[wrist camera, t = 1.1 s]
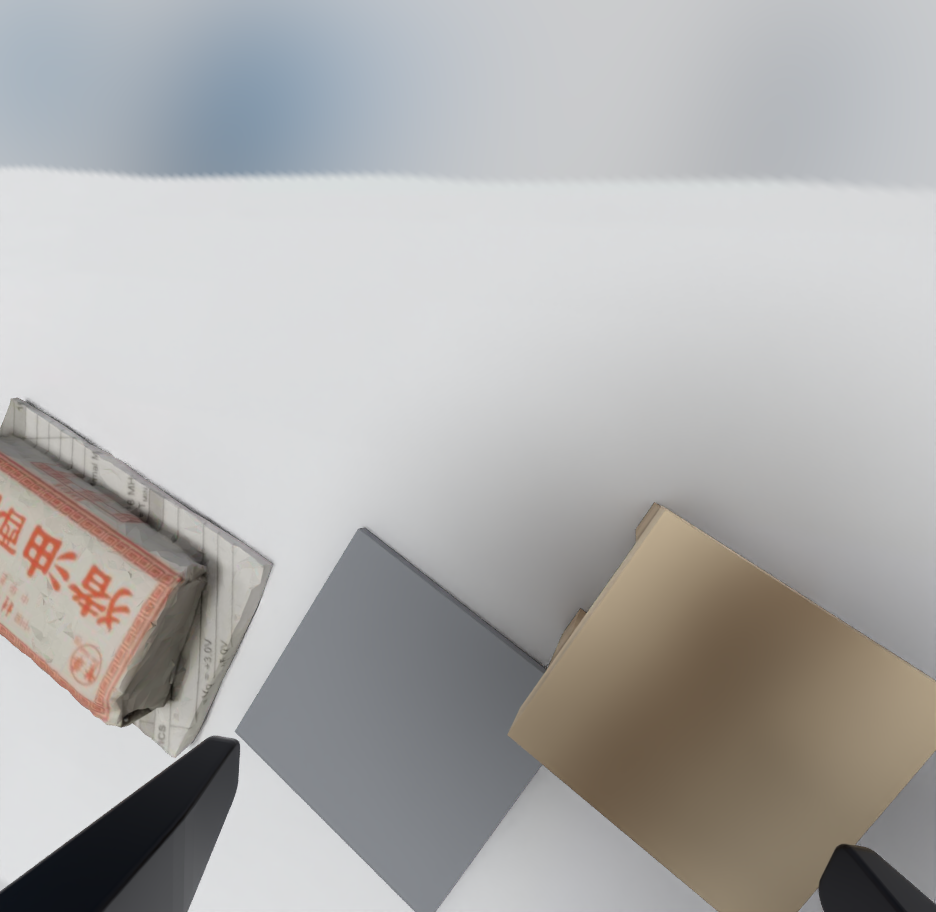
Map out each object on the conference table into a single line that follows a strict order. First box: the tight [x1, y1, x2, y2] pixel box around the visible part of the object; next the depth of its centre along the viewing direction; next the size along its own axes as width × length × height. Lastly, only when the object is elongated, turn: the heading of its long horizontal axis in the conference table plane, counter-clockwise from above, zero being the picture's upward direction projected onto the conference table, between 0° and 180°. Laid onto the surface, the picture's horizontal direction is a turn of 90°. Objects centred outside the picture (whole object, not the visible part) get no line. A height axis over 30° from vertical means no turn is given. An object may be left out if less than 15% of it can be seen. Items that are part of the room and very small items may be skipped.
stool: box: [507, 502, 936, 912], centre depth 15 cm, size 6×6×8 cm
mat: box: [235, 528, 546, 912], centre depth 22 cm, size 11×11×1 cm
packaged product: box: [0, 398, 273, 758], centre depth 25 cm, size 18×5×10 cm
